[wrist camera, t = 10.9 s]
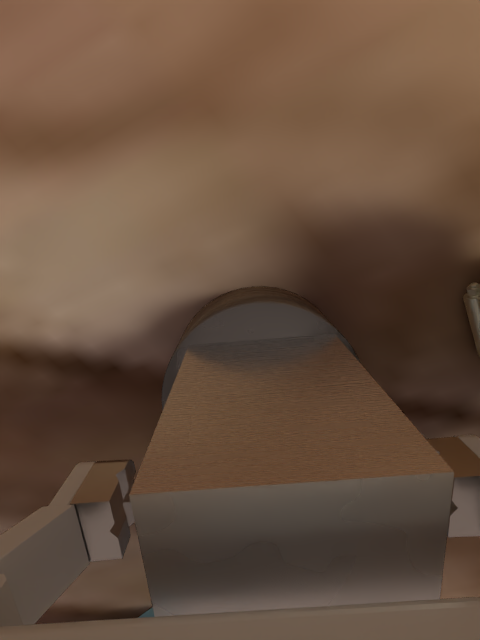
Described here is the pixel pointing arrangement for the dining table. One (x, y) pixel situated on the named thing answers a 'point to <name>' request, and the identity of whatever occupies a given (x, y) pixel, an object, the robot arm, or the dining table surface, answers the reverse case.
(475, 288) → the pneumatic valve
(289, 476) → the beige rectangular block
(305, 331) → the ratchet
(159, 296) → the dining table surface
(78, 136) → the dining table surface
